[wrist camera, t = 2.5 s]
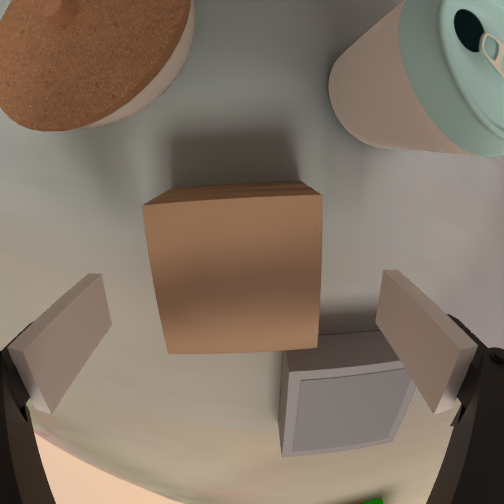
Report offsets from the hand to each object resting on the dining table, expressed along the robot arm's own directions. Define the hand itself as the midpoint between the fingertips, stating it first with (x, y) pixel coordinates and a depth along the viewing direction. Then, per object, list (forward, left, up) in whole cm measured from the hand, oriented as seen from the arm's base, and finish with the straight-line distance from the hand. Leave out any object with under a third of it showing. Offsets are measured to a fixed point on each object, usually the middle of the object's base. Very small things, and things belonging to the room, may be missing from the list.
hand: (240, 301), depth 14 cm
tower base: (+12, +8, -7) cm, 16 cm away
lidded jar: (-13, -7, -7) cm, 17 cm away
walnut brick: (0, 0, -7) cm, 7 cm away
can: (-10, +9, -7) cm, 15 cm away
